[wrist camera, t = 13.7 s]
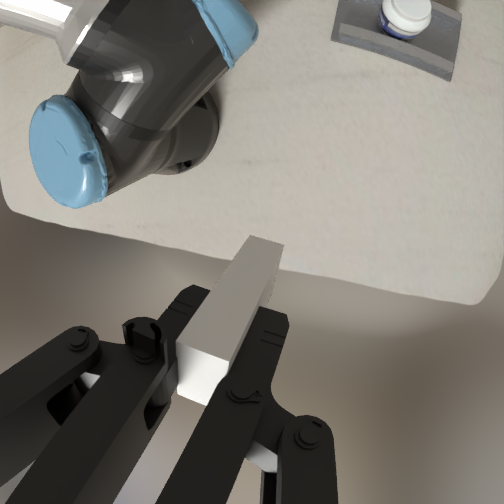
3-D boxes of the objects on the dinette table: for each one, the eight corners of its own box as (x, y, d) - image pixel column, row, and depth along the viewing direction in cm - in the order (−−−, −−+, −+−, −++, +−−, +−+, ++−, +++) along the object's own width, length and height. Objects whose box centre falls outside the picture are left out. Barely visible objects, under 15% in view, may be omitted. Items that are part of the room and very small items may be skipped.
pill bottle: (382, -1, 25) (391, -29, 17) (422, 16, 24) (442, -7, 16) (372, 32, 28) (380, 11, 19) (412, 49, 27) (432, 34, 19)
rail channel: (331, 40, 30) (329, 34, 27) (343, -21, 25) (342, -32, 22) (448, 81, 28) (458, 80, 25) (459, 19, 23) (469, 13, 19)
